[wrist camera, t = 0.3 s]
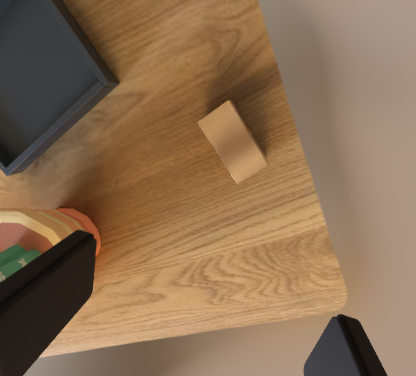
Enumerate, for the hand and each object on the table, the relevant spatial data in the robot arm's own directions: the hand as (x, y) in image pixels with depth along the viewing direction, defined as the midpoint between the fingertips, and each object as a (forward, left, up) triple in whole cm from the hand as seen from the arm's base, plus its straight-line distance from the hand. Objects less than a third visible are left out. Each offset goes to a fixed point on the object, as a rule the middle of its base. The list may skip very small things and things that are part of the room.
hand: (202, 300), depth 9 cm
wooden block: (-2, -3, -19) cm, 20 cm away
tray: (+15, -22, -19) cm, 33 cm away
